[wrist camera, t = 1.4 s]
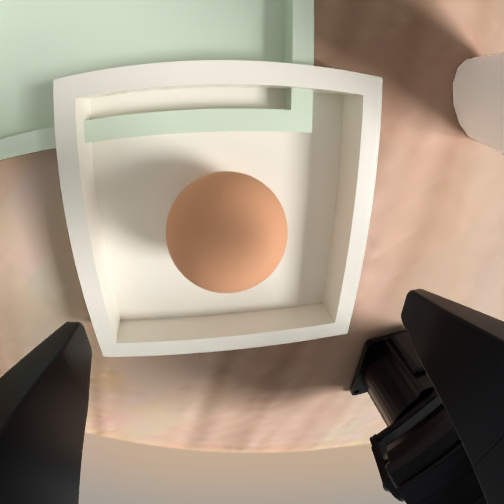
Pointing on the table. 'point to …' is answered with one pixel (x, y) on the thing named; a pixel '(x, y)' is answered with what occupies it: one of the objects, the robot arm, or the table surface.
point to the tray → (143, 60)
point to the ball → (226, 232)
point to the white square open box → (200, 164)
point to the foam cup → (481, 99)
